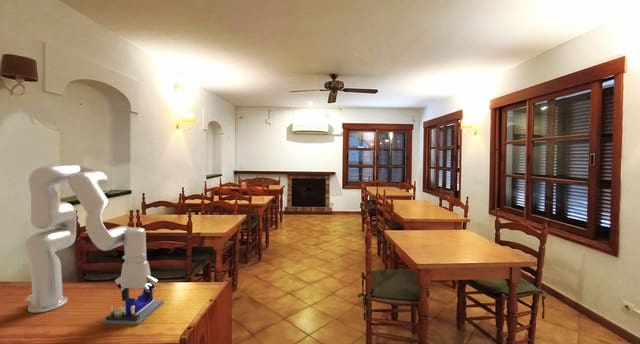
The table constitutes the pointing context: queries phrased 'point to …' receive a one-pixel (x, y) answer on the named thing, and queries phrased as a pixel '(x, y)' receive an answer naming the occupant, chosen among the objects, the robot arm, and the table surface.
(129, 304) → the blue curved bracket
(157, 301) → the header board
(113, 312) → the brass pins
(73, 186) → the robot arm
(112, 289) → the table surface
